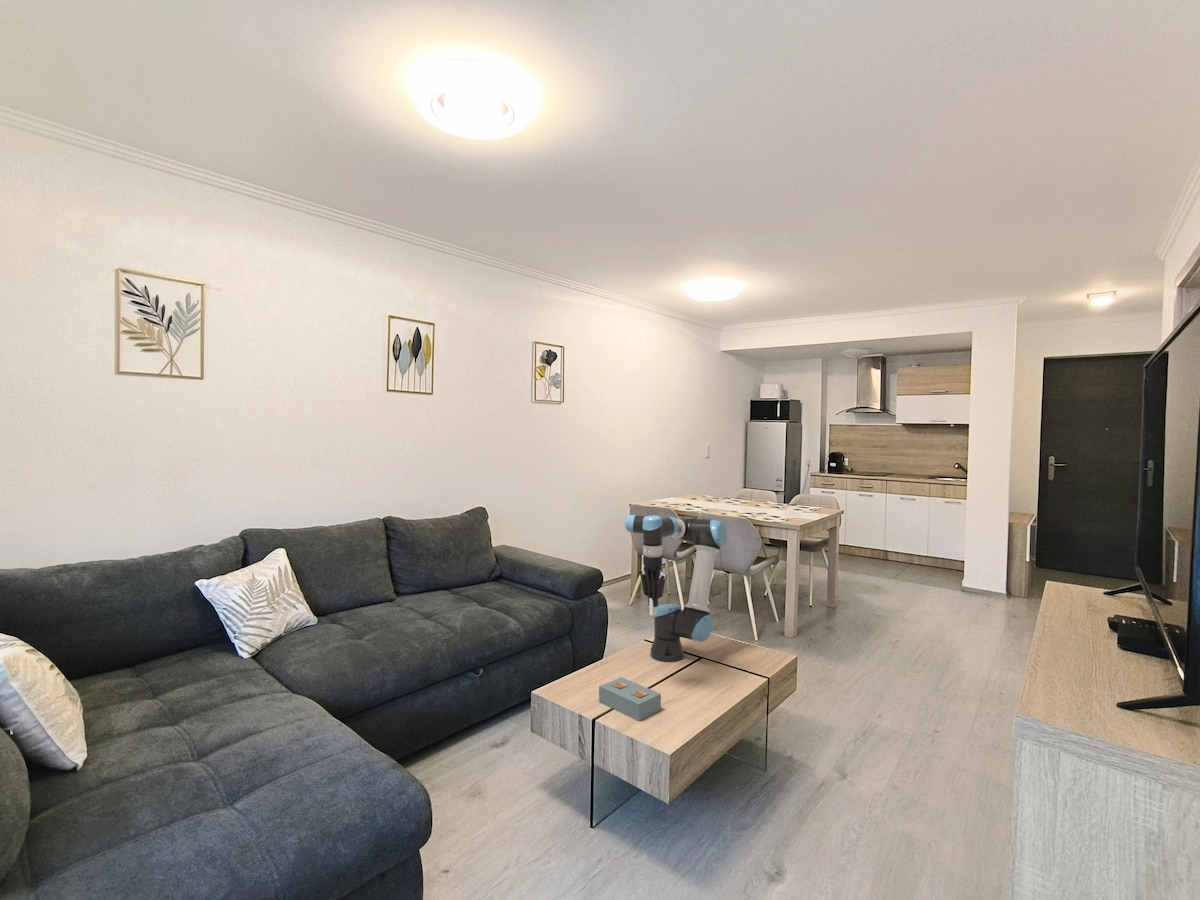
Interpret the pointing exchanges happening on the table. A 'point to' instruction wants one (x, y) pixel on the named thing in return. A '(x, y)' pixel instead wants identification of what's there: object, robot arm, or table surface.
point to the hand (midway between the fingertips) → (653, 614)
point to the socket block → (630, 699)
